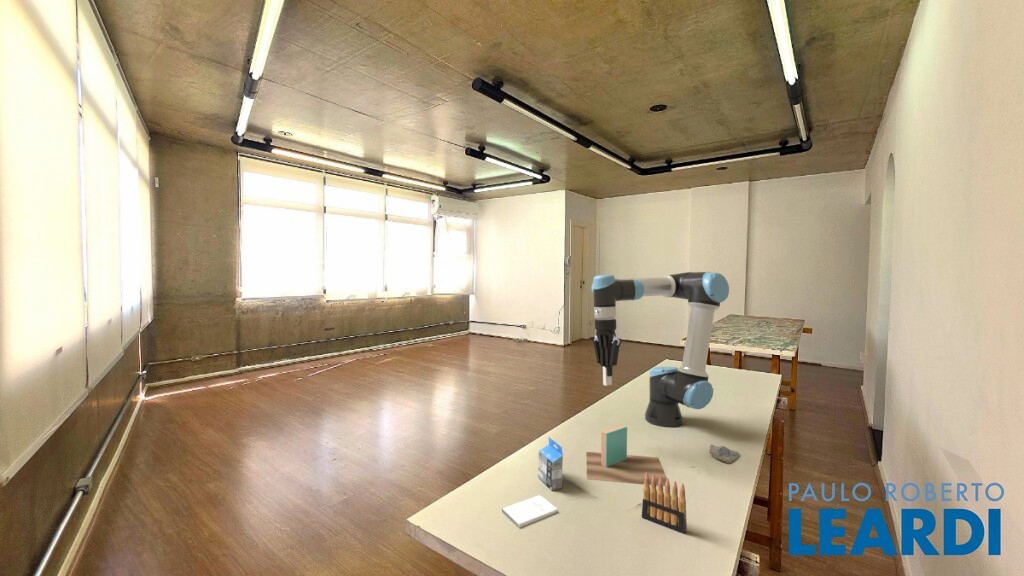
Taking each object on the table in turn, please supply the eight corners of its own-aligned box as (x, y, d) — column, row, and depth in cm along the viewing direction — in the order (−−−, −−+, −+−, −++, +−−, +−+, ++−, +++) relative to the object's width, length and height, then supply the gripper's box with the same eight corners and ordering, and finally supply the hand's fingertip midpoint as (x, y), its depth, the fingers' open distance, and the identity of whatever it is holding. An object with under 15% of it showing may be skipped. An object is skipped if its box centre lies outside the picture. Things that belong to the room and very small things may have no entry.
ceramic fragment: (712, 442, 147) (741, 448, 140) (713, 451, 147) (742, 457, 139) (698, 450, 141) (728, 456, 133) (699, 459, 140) (729, 466, 133)
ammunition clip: (641, 517, 104) (642, 472, 104) (643, 514, 106) (644, 469, 105) (684, 534, 98) (685, 486, 97) (686, 530, 99) (687, 482, 99)
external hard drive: (501, 513, 107) (539, 499, 113) (518, 530, 100) (557, 514, 106) (501, 507, 107) (539, 494, 113) (518, 524, 100) (557, 508, 106)
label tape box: (537, 477, 125) (537, 438, 124) (548, 474, 126) (549, 436, 126) (551, 491, 117) (551, 449, 116) (563, 488, 118) (563, 447, 118)
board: (586, 454, 140) (586, 451, 140) (658, 460, 136) (658, 457, 136) (586, 482, 122) (586, 479, 122) (670, 490, 117) (670, 486, 117)
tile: (601, 464, 131) (601, 431, 130) (621, 456, 137) (621, 424, 136) (606, 467, 129) (606, 433, 129) (626, 459, 135) (627, 426, 134)
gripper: (584, 318, 146) (587, 382, 147) (610, 320, 135) (612, 390, 135) (600, 316, 150) (602, 379, 150) (626, 318, 139) (628, 386, 139)
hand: (607, 384), depth 143 cm, fingers closed
